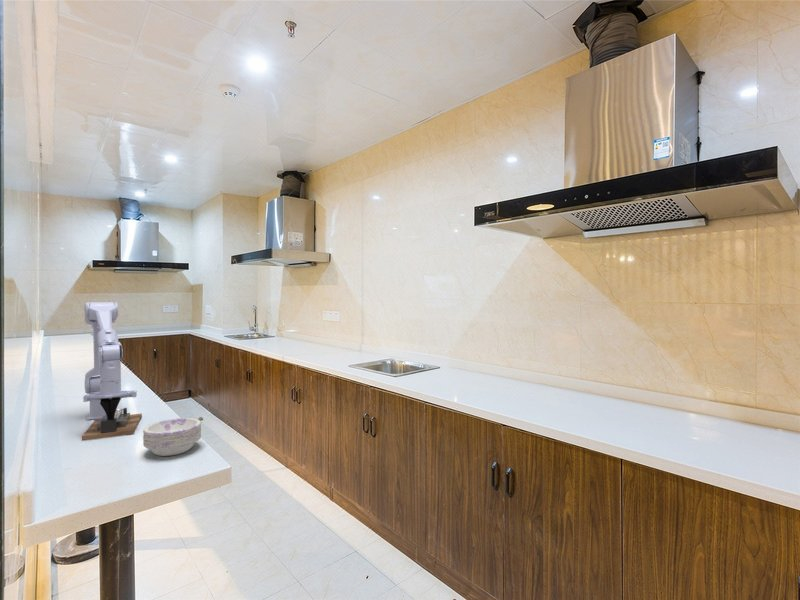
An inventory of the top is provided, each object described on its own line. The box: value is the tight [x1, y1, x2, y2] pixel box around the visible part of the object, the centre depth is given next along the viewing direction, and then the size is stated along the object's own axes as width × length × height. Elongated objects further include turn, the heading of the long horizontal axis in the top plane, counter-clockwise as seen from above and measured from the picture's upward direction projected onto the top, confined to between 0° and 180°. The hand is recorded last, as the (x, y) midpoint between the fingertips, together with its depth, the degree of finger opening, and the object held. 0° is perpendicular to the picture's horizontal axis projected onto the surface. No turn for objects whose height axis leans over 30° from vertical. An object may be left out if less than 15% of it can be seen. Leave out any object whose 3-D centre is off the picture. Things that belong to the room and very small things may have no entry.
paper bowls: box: [142, 417, 202, 457], centre depth 122 cm, size 15×15×8 cm
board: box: [81, 413, 143, 442], centre depth 141 cm, size 20×14×2 cm
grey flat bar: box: [114, 408, 123, 420], centre depth 141 cm, size 14×3×1 cm, turn 26°
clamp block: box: [97, 407, 131, 433], centre depth 140 cm, size 16×8×4 cm, turn 26°
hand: (111, 420), depth 136 cm, fingers closed
